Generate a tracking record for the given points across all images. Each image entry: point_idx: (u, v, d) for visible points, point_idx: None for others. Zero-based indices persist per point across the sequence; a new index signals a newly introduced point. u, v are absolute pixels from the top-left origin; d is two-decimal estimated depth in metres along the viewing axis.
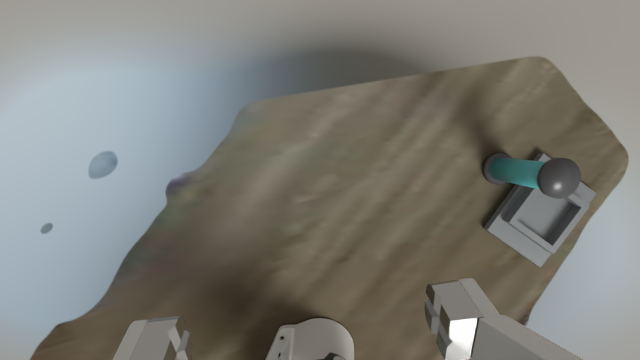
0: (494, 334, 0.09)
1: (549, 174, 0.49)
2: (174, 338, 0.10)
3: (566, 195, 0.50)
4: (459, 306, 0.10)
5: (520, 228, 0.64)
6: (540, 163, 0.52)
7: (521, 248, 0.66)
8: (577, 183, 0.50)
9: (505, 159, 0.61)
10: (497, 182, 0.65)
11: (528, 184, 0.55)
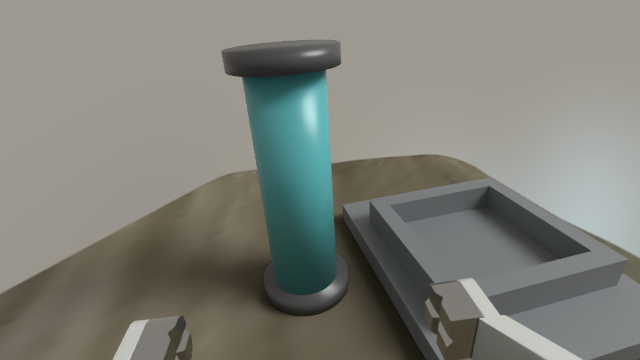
0: (493, 334, 0.09)
1: (243, 50, 0.16)
2: (174, 338, 0.10)
3: (333, 44, 0.16)
4: (459, 306, 0.10)
5: (492, 289, 0.18)
6: None
7: (594, 337, 0.17)
8: (325, 40, 0.18)
9: None
10: (330, 291, 0.22)
11: (291, 150, 0.17)
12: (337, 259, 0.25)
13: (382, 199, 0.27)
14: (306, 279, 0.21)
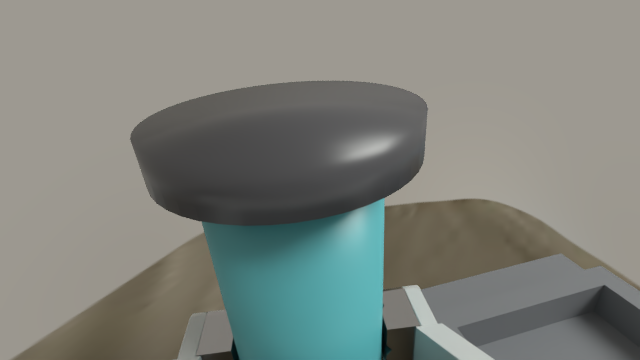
0: (428, 343, 0.09)
1: (188, 127, 0.06)
2: None
3: (413, 110, 0.06)
4: (398, 314, 0.10)
5: None
6: None
7: None
8: (377, 86, 0.09)
9: None
10: None
11: (309, 348, 0.08)
12: None
13: (442, 312, 0.17)
14: None
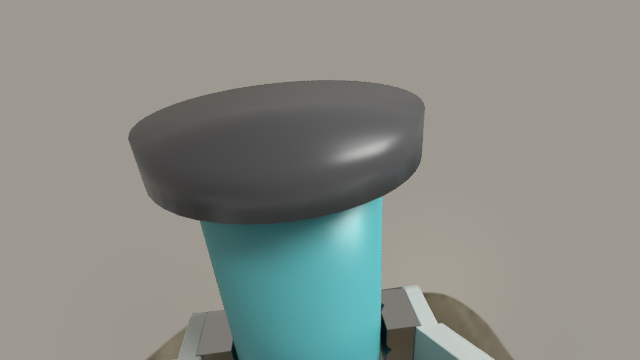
0: (428, 343, 0.09)
1: (185, 127, 0.06)
2: None
3: (410, 109, 0.06)
4: (398, 314, 0.10)
5: None
6: None
7: None
8: (375, 86, 0.09)
9: None
10: None
11: (307, 347, 0.08)
12: None
13: None
14: None
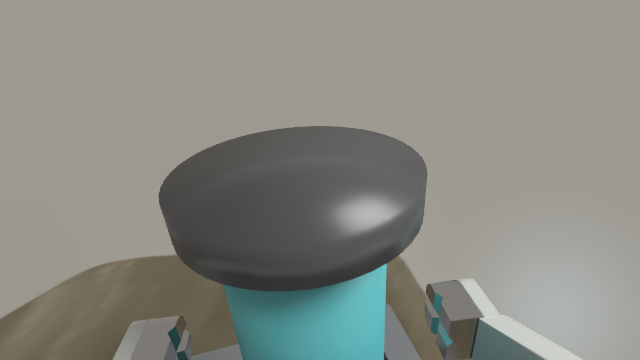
0: (493, 334, 0.09)
1: (210, 189, 0.07)
2: (174, 338, 0.10)
3: (414, 175, 0.07)
4: (459, 306, 0.10)
5: None
6: None
7: None
8: (380, 138, 0.09)
9: None
10: None
11: None
12: None
13: None
14: None
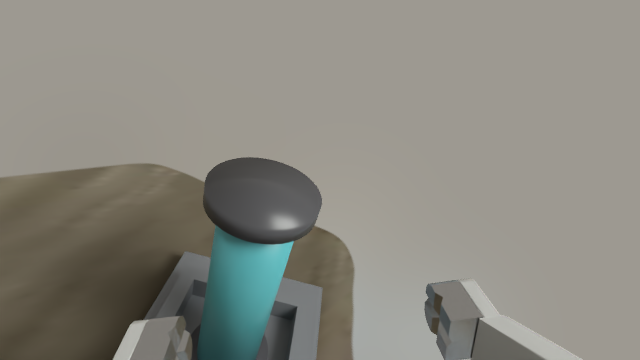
0: (493, 334, 0.09)
1: (226, 184, 0.17)
2: (174, 338, 0.10)
3: (305, 217, 0.16)
4: (459, 306, 0.10)
5: None
6: None
7: None
8: (315, 192, 0.18)
9: None
10: None
11: (233, 281, 0.18)
12: (262, 350, 0.26)
13: (196, 269, 0.29)
14: None
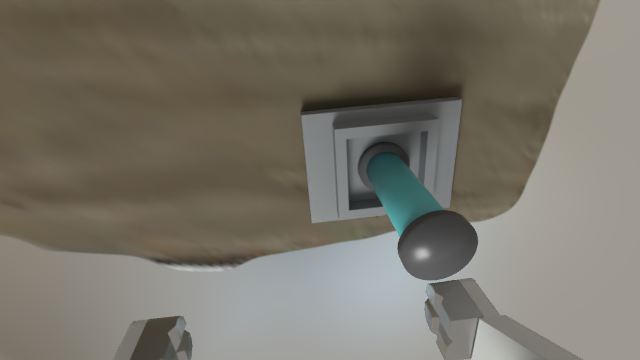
0: (493, 334, 0.09)
1: (434, 230, 0.25)
2: (174, 338, 0.10)
3: (419, 275, 0.27)
4: (459, 306, 0.10)
5: (338, 152, 0.37)
6: (437, 205, 0.28)
7: (315, 181, 0.40)
8: (447, 274, 0.27)
9: (402, 162, 0.36)
10: (365, 180, 0.40)
11: (392, 216, 0.30)
12: None
13: (437, 128, 0.36)
14: (369, 173, 0.38)
